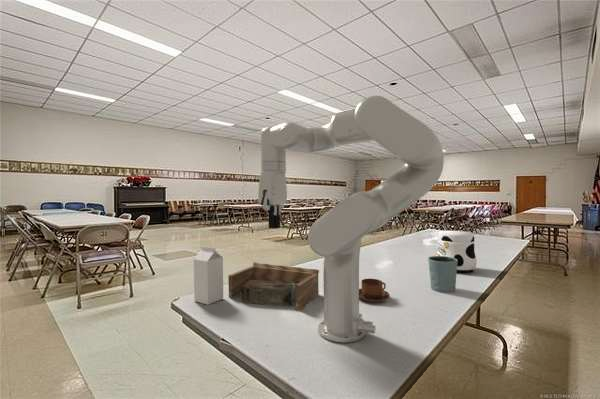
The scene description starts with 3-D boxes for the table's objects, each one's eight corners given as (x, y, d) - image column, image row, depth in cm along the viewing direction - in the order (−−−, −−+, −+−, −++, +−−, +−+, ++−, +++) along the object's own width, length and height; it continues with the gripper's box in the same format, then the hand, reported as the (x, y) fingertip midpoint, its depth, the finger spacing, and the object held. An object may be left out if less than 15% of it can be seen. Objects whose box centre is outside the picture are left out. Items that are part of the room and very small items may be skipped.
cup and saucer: (366, 290, 112) (366, 274, 112) (395, 298, 103) (395, 281, 103) (348, 298, 104) (348, 281, 103) (378, 308, 95) (378, 289, 95)
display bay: (319, 294, 108) (318, 269, 108) (300, 310, 93) (299, 281, 93) (254, 284, 121) (254, 262, 121) (228, 297, 106) (228, 272, 106)
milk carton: (207, 305, 98) (206, 249, 98) (194, 301, 102) (193, 247, 102) (223, 298, 104) (222, 246, 104) (210, 295, 108) (209, 244, 108)
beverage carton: (292, 307, 96) (292, 288, 96) (240, 303, 100) (239, 285, 100) (298, 299, 104) (297, 281, 104) (249, 295, 108) (248, 278, 108)
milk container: (428, 267, 145) (428, 231, 145) (452, 263, 152) (452, 229, 152) (460, 276, 129) (460, 236, 129) (484, 271, 137) (485, 233, 136)
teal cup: (460, 289, 112) (460, 258, 112) (453, 296, 105) (453, 263, 105) (433, 283, 119) (433, 254, 119) (424, 289, 112) (424, 259, 111)
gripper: (275, 170, 98) (276, 225, 98) (249, 167, 84) (250, 230, 84) (295, 169, 94) (296, 226, 95) (271, 166, 81) (272, 231, 81)
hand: (274, 227), depth 90 cm, fingers closed
